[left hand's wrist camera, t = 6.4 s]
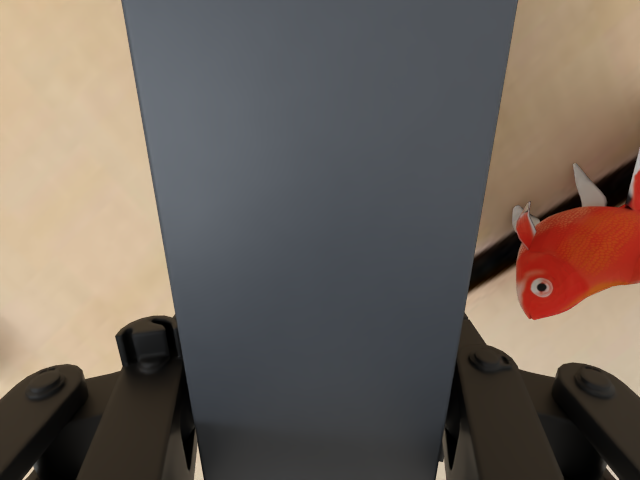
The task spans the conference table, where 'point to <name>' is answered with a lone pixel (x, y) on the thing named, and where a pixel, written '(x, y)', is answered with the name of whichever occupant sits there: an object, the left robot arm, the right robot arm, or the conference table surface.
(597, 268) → the fish
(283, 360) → the bar
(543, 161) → the conference table surface
